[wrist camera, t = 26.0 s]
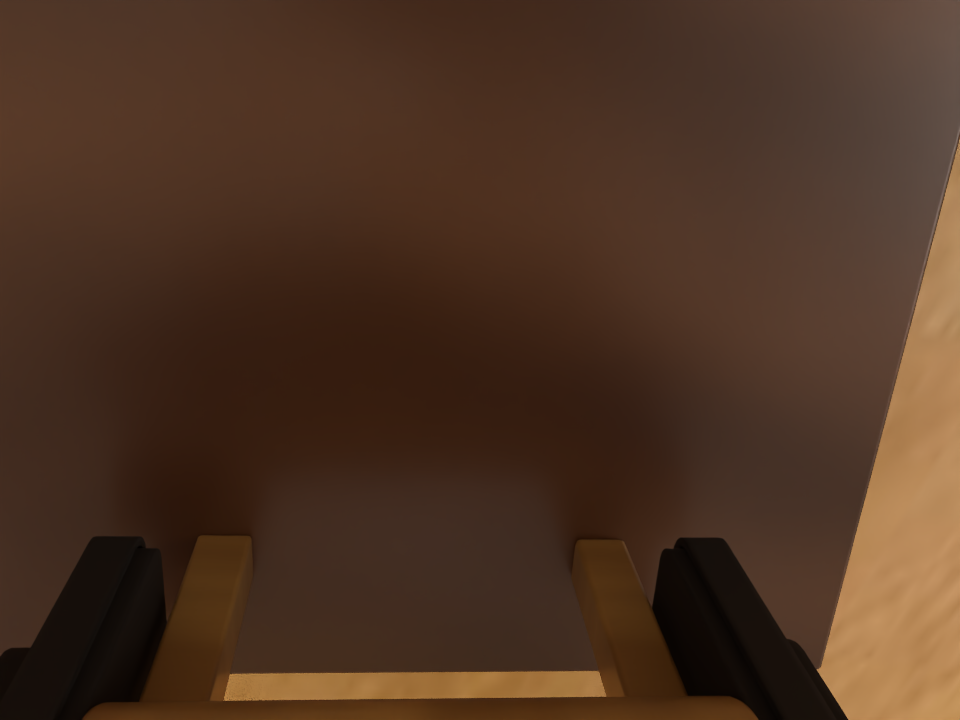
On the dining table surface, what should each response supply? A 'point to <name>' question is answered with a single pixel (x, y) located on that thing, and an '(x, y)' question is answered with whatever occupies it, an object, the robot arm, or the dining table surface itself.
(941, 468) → the dining table surface
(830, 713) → the robot arm
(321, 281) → the lid
